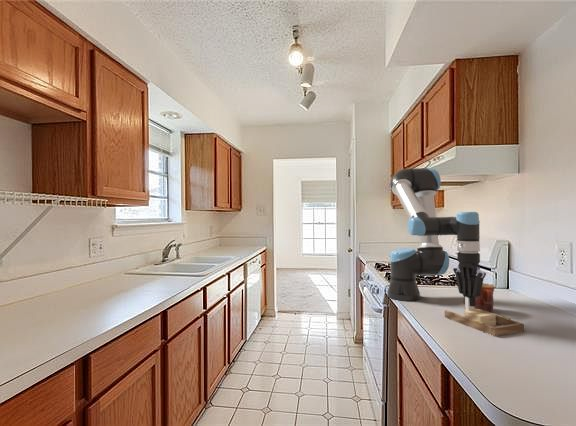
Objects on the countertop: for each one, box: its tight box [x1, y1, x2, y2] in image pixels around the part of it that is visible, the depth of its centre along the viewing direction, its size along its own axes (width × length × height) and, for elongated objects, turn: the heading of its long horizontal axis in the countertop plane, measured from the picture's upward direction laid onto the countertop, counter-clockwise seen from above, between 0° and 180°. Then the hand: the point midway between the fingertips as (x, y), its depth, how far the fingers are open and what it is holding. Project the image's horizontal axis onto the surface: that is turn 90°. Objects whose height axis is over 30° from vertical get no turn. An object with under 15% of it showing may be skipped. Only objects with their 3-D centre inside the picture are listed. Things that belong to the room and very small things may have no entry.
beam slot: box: [444, 308, 525, 337], centre depth 116 cm, size 21×14×3 cm, turn 18°
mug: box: [474, 282, 496, 312], centre depth 132 cm, size 12×9×10 cm
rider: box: [463, 309, 497, 326], centre depth 117 cm, size 7×7×4 cm
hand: (469, 313), depth 121 cm, fingers closed
